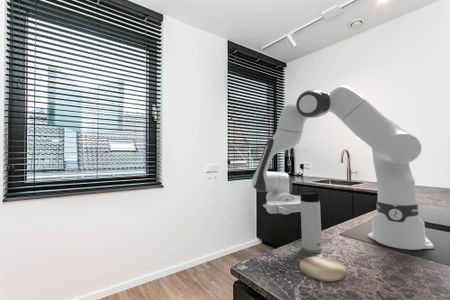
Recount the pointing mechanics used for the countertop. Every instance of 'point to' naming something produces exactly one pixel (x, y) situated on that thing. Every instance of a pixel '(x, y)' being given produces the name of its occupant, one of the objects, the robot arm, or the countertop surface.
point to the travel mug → (311, 222)
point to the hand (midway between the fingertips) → (298, 210)
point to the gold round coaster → (322, 268)
